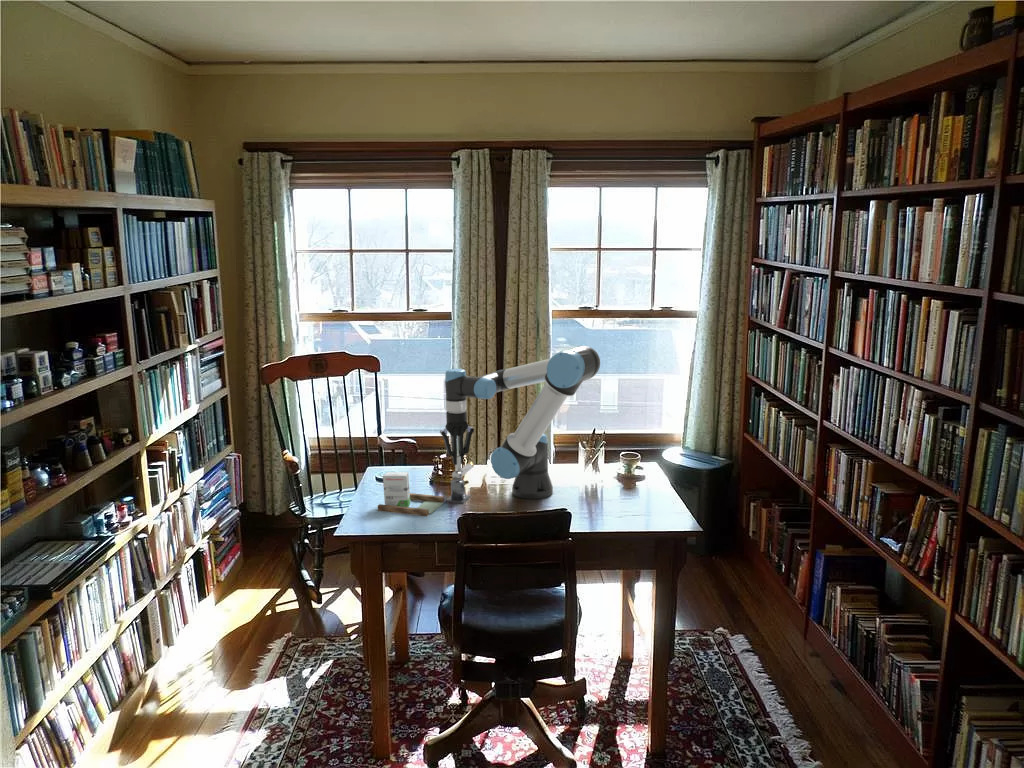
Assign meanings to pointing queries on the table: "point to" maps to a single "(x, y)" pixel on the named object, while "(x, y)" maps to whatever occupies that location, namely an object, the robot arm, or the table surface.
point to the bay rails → (408, 509)
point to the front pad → (430, 506)
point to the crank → (462, 471)
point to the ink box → (396, 489)
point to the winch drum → (458, 492)
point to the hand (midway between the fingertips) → (458, 472)
